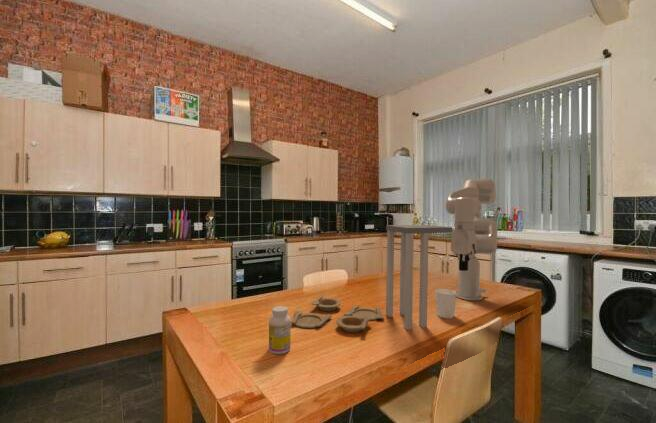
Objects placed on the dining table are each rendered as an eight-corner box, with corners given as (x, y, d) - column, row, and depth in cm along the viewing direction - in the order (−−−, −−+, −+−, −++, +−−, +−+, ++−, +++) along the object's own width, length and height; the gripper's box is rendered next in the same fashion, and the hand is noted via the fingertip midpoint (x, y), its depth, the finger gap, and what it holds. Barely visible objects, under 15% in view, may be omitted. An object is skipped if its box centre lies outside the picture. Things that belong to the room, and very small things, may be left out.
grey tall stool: (425, 310, 128) (427, 224, 127) (450, 323, 114) (452, 227, 113) (384, 315, 121) (386, 225, 121) (406, 330, 107) (407, 228, 107)
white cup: (452, 312, 126) (452, 289, 126) (458, 319, 118) (459, 294, 118) (433, 311, 127) (433, 288, 126) (438, 318, 119) (438, 293, 119)
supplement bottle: (269, 345, 95) (270, 305, 94) (290, 344, 95) (291, 304, 95) (267, 355, 88) (267, 312, 88) (290, 354, 88) (290, 312, 88)
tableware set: (281, 326, 111) (281, 315, 111) (312, 302, 138) (312, 293, 138) (374, 341, 99) (375, 329, 99) (388, 312, 126) (388, 303, 126)
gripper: (444, 225, 130) (443, 267, 130) (471, 227, 116) (470, 274, 116) (458, 225, 133) (457, 266, 133) (486, 227, 119) (485, 273, 119)
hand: (463, 270), depth 125 cm, fingers closed
